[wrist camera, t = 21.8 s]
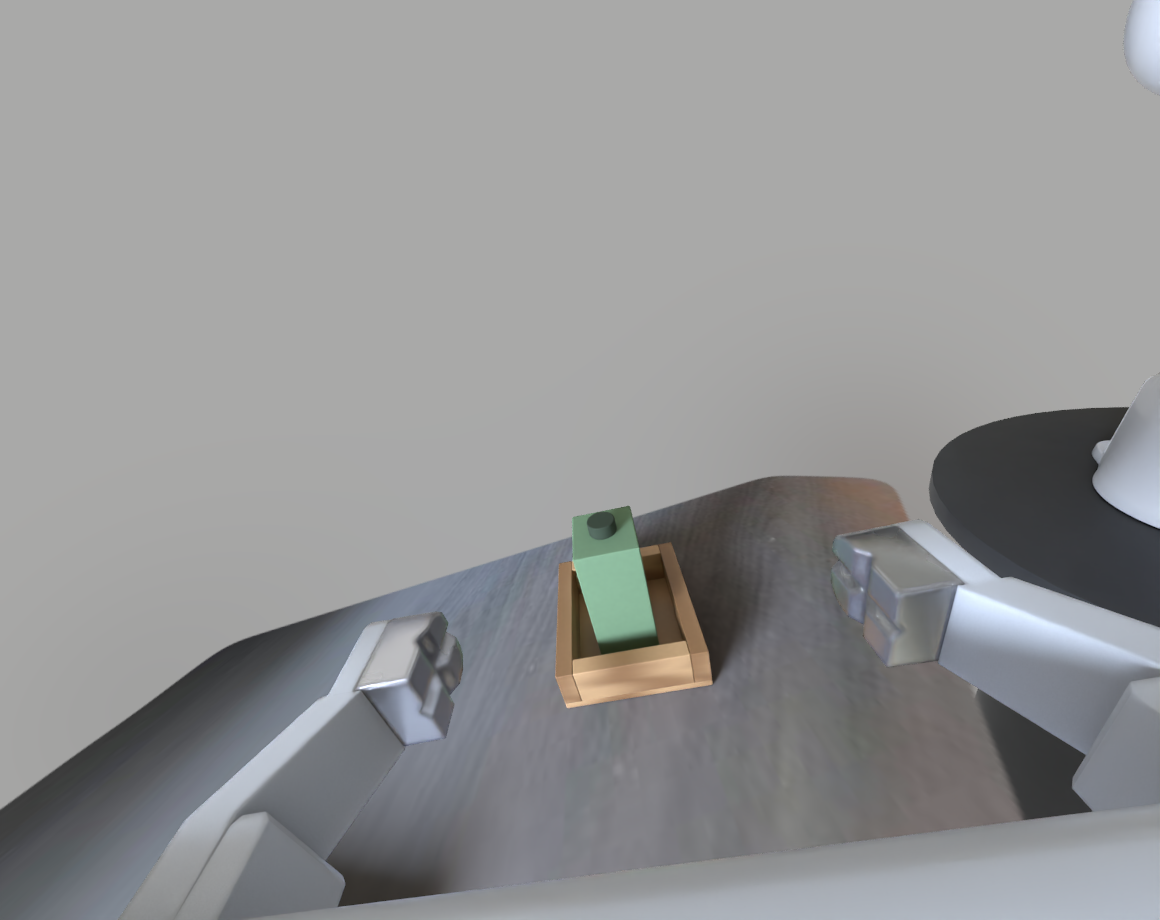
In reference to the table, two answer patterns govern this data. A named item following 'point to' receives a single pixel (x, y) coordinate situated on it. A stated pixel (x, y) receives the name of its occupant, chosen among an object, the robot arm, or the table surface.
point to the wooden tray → (633, 670)
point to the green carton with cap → (613, 580)
